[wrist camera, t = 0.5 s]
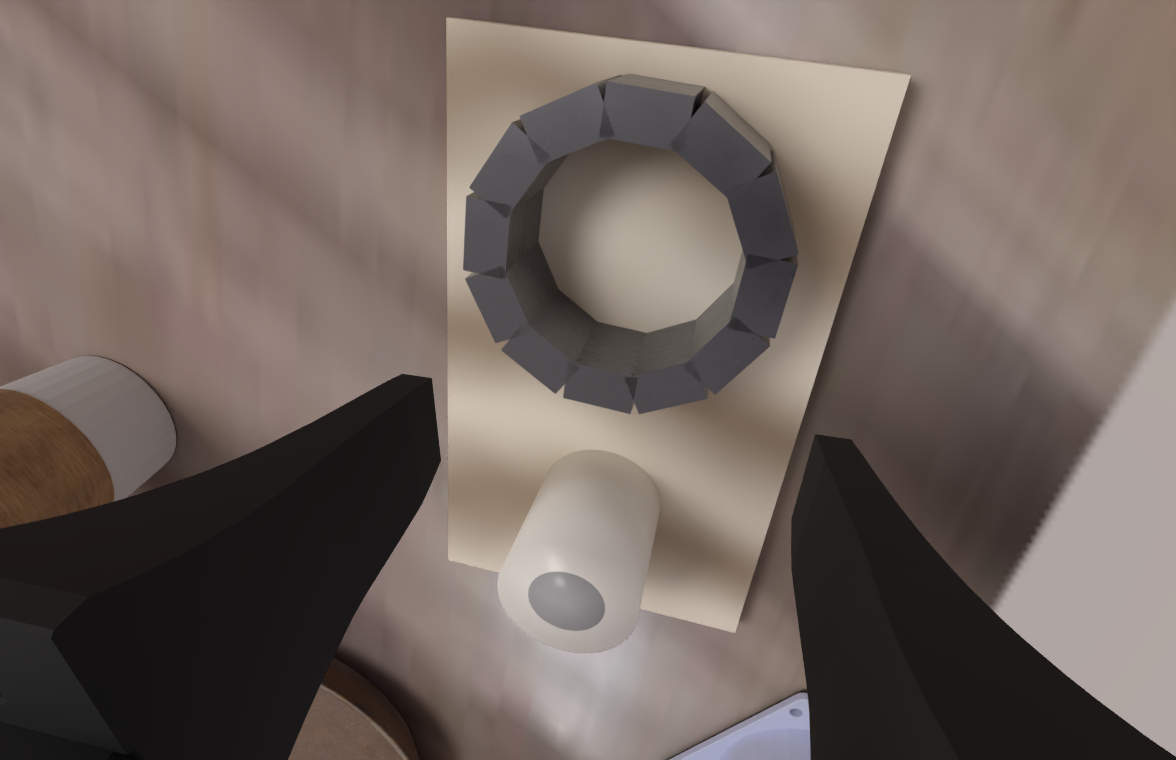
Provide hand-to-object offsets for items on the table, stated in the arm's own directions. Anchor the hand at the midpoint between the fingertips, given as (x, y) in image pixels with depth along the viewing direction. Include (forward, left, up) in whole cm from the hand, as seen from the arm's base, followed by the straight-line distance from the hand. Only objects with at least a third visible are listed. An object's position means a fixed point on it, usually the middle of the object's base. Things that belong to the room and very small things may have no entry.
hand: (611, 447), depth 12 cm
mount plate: (-4, -1, -10) cm, 10 cm away
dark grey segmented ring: (+1, +2, -9) cm, 9 cm away
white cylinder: (-8, -4, -9) cm, 12 cm away
